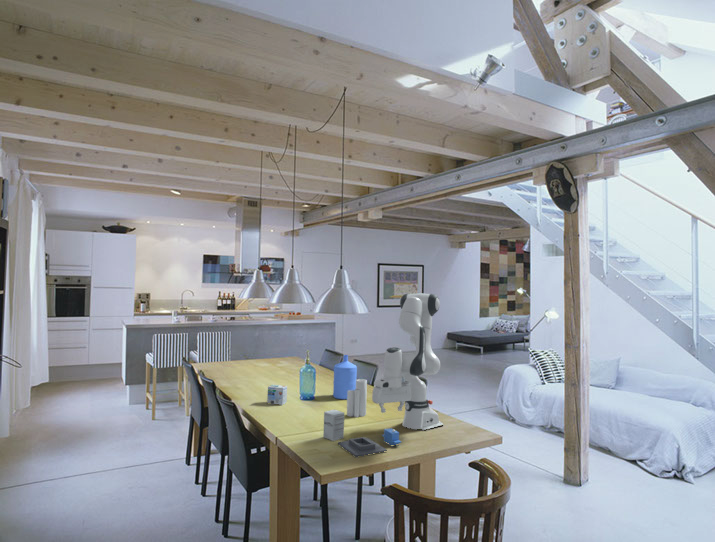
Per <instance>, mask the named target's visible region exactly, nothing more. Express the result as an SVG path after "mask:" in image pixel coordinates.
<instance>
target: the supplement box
mask: <svg viewBox="0 0 715 542" xmlns="http://www.w3.org/2000/svg"><path fill="white" fill-rule="evenodd" d="M344 433H345V412H343V411H340V410H337V409H331V410H326V411H324V412H323V435H322V436H323V438H324V439H327V440H330V441H332V442H335V441H338V440H339V441H340V440H342V439H344V436H345V435H344Z"/></svg>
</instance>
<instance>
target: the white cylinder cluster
mask: <svg viewBox="0 0 715 542" xmlns="http://www.w3.org/2000/svg"><path fill="white" fill-rule="evenodd" d="M367 389H368V380H367V379H363V378H358V379H357V378H356V389H355V390H349V391H347V399H346V417H354V418H359V417H366V416H367V397H368V396H367V395H368V393H367V391H368V390H367ZM365 415H366V416H365Z"/></svg>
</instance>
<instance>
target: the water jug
mask: <svg viewBox="0 0 715 542" xmlns="http://www.w3.org/2000/svg"><path fill="white" fill-rule="evenodd" d="M342 359H343V361H341V362H339V363H336V364H335V365H334V366H333V382H332V383H333V389H332V390H333V391H332V396H333V398H335V399H338V400H345V399H346V400H347V391H349V390H355V389H356V380H357V375H358V374H357V373H358V367H357V365H355V364H353V363H352V362H351V361H349V355H348V354H344V355H343V358H342Z"/></svg>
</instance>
